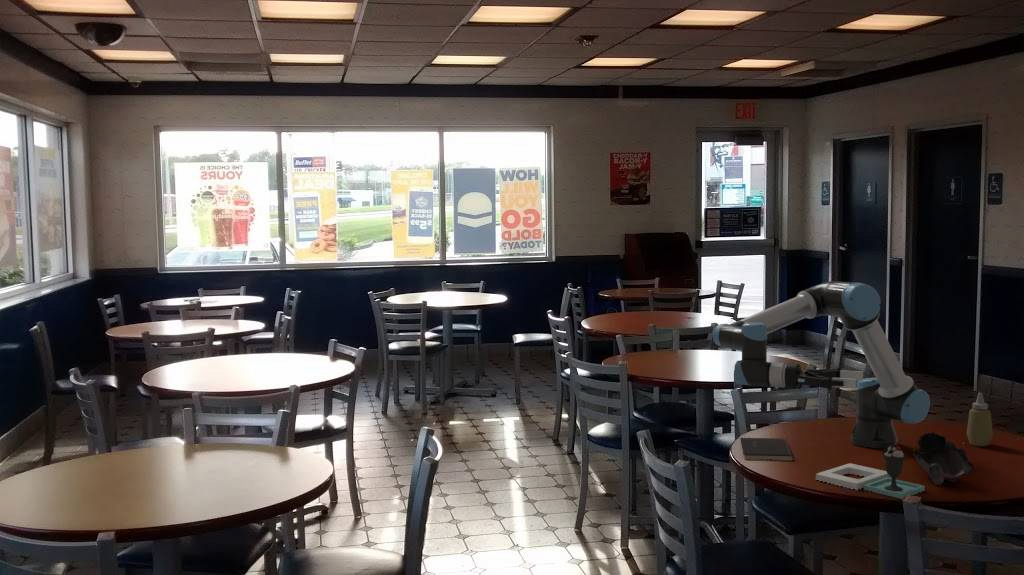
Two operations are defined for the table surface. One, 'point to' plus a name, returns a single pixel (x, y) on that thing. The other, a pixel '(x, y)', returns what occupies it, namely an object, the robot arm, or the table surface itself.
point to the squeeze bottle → (979, 423)
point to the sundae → (893, 464)
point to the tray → (906, 486)
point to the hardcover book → (766, 449)
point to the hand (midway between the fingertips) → (859, 379)
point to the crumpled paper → (941, 458)
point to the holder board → (836, 478)
